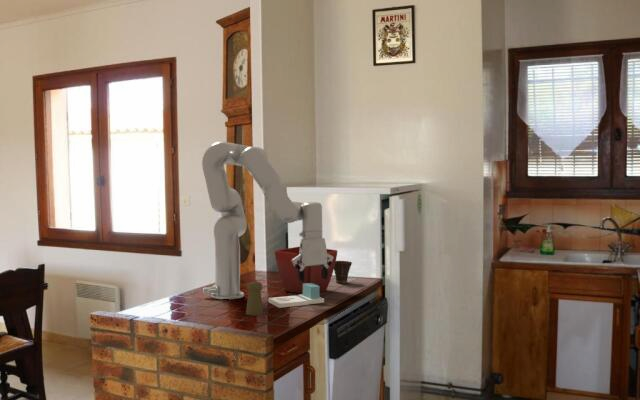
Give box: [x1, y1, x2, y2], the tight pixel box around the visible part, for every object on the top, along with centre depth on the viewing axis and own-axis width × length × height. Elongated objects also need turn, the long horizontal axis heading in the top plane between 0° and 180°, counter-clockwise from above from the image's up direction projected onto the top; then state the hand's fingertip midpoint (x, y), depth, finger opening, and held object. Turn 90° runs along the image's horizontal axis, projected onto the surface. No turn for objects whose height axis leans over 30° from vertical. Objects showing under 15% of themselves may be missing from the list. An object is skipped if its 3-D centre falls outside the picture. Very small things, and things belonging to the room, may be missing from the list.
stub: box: [297, 283, 325, 305], centre depth 223 cm, size 6×10×6 cm, turn 27°
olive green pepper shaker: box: [245, 280, 264, 316], centre depth 203 cm, size 6×6×11 cm
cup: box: [333, 260, 353, 285], centre depth 260 cm, size 9×9×10 cm
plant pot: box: [274, 246, 338, 295], centre depth 242 cm, size 19×19×17 cm
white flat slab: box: [268, 294, 310, 309], centre depth 219 cm, size 12×10×2 cm
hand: (313, 279), depth 222 cm, fingers open, 9 cm apart
